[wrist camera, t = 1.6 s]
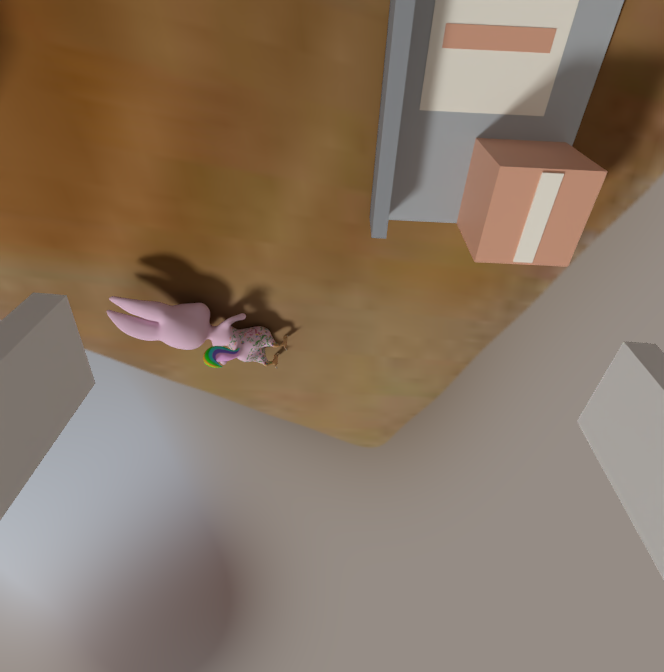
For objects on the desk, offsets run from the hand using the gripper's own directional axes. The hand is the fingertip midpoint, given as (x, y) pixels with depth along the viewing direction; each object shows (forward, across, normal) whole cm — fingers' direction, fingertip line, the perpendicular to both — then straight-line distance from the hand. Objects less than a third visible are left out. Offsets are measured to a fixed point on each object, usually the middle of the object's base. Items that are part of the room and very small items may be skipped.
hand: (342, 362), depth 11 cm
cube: (+23, +12, -2) cm, 26 cm away
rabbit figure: (+24, -11, -16) cm, 31 cm away
